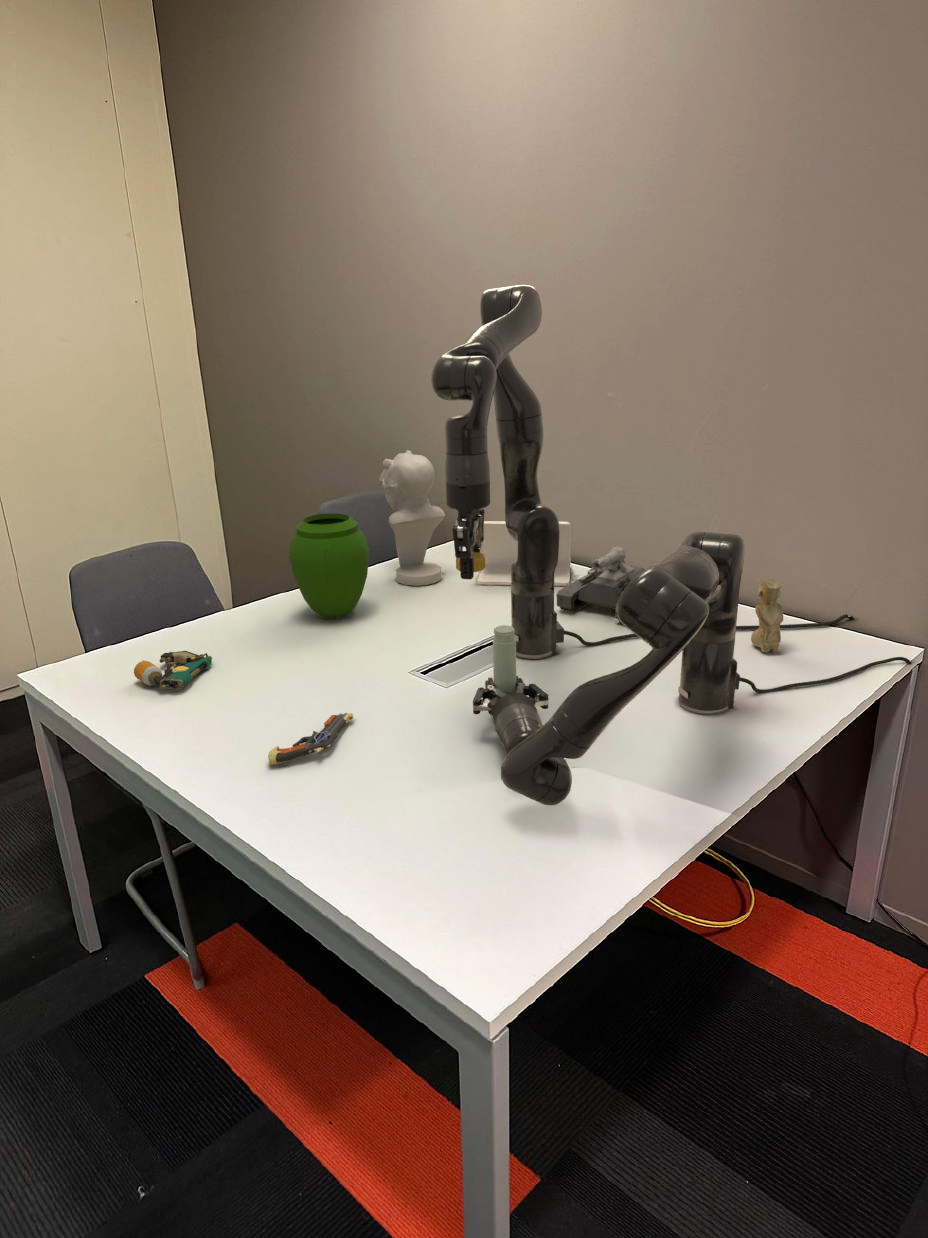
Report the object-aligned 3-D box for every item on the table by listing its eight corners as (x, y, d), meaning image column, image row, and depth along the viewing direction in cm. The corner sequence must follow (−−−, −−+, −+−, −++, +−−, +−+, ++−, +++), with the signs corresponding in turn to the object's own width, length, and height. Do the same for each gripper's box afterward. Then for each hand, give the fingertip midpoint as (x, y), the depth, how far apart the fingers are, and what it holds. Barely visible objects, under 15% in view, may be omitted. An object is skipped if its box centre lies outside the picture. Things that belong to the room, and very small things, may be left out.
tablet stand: (569, 585, 229) (570, 524, 223) (476, 584, 232) (475, 523, 226) (570, 566, 246) (571, 508, 240) (484, 564, 249) (483, 507, 243)
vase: (389, 608, 216) (383, 514, 208) (339, 633, 201) (330, 533, 192) (330, 596, 226) (322, 506, 218) (278, 619, 211) (267, 523, 202)
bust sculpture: (418, 559, 256) (413, 441, 244) (456, 580, 236) (452, 453, 224) (369, 568, 249) (360, 447, 237) (403, 590, 229) (396, 460, 217)
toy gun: (262, 754, 143) (318, 752, 141) (303, 710, 161) (353, 708, 159) (266, 769, 144) (321, 767, 142) (306, 724, 162) (356, 721, 160)
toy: (603, 584, 229) (605, 530, 224) (673, 597, 218) (677, 540, 213) (555, 612, 210) (556, 553, 205) (630, 627, 199) (633, 566, 194)
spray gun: (177, 659, 191) (231, 671, 185) (120, 684, 176) (176, 698, 171) (176, 641, 190) (230, 653, 184) (118, 665, 175) (174, 678, 169)
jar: (513, 713, 160) (512, 623, 154) (519, 723, 157) (518, 631, 150) (492, 716, 159) (490, 626, 153) (497, 726, 156) (496, 634, 149)
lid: (483, 563, 153) (482, 550, 153) (487, 571, 149) (486, 558, 148) (454, 565, 153) (454, 552, 152) (457, 573, 148) (457, 560, 147)
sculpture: (772, 641, 189) (778, 577, 184) (784, 654, 182) (792, 587, 177) (746, 642, 189) (752, 578, 183) (758, 655, 182) (764, 588, 177)
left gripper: (456, 470, 152) (459, 561, 158) (435, 487, 139) (439, 585, 145) (497, 470, 151) (499, 562, 157) (480, 487, 138) (482, 587, 144)
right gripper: (560, 700, 142) (540, 660, 158) (475, 707, 140) (463, 665, 156) (559, 740, 144) (540, 696, 160) (476, 747, 143) (465, 702, 159)
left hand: (470, 573), depth 151 cm, fingers closed on lid, 5 cm apart
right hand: (502, 681), depth 158 cm, fingers closed on jar, 4 cm apart
